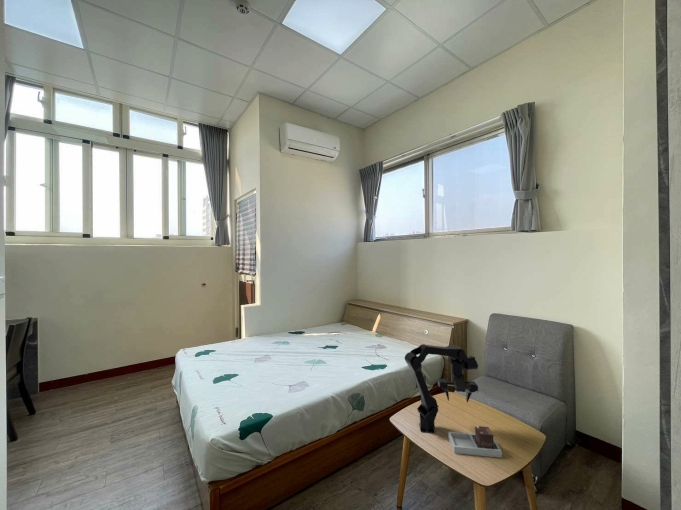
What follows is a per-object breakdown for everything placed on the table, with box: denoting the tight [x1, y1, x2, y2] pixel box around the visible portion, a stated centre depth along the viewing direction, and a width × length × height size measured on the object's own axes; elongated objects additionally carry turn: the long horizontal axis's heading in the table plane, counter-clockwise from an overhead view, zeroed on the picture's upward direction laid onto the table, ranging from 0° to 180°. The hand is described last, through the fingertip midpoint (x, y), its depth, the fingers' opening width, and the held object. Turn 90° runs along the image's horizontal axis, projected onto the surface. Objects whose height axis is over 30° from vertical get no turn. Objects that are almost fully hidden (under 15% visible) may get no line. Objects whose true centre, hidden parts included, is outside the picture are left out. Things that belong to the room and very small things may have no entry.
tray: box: [447, 431, 503, 458], centre depth 123 cm, size 20×11×3 cm, turn 82°
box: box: [474, 425, 495, 449], centre depth 123 cm, size 6×6×7 cm
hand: (457, 401), depth 141 cm, fingers open, 9 cm apart
